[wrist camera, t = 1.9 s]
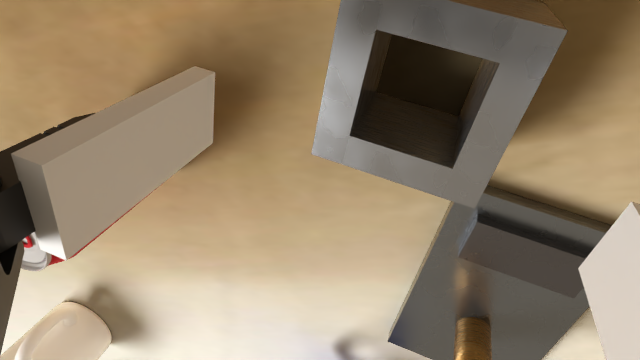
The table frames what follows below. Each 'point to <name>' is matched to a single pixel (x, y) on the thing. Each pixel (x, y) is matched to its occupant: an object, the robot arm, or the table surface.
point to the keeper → (498, 281)
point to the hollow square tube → (426, 123)
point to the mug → (63, 336)
